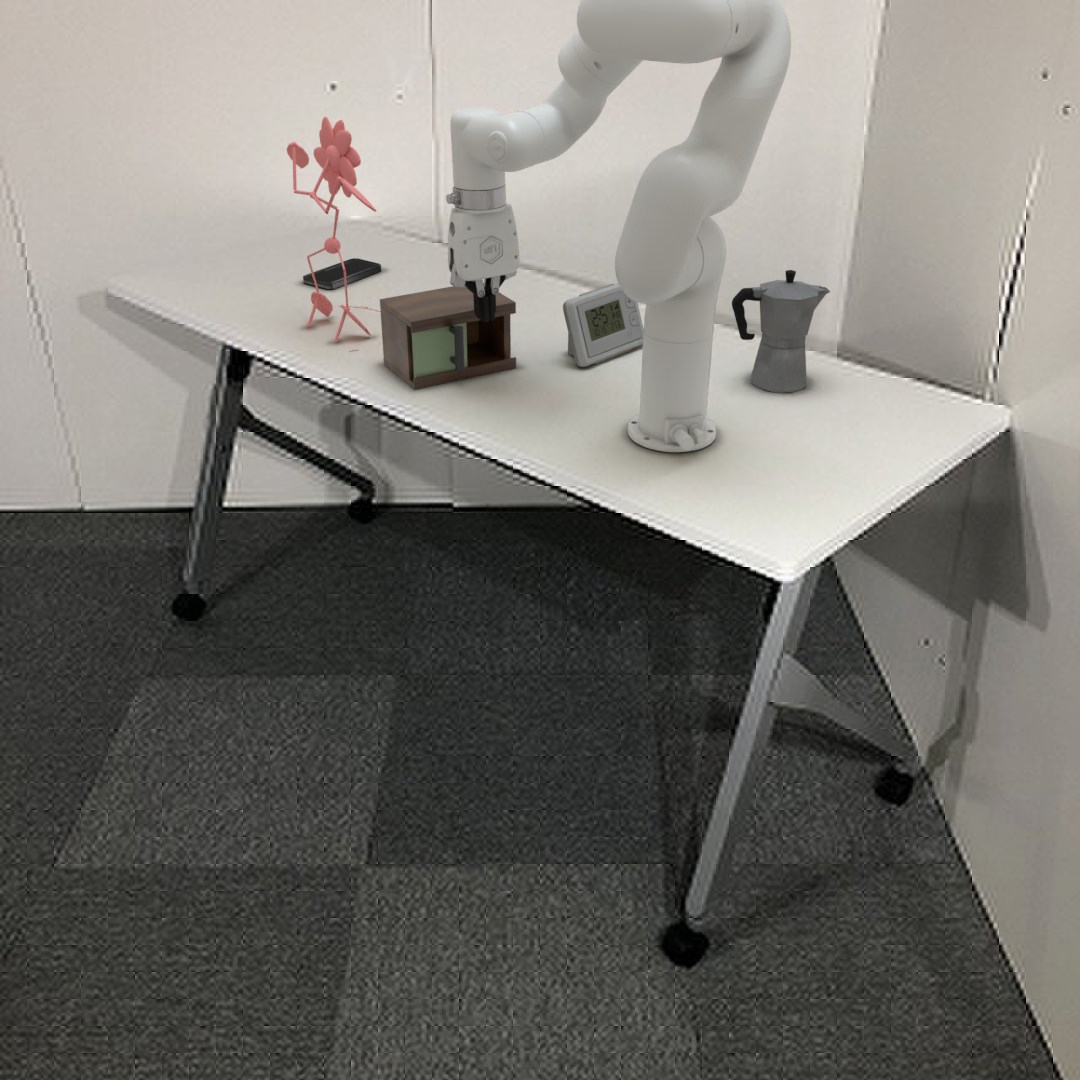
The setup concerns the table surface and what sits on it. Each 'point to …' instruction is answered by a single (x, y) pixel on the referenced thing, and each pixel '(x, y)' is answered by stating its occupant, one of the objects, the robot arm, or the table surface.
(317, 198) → the figurine
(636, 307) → the digital clock
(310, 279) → the phone
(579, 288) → the table surface
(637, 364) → the table surface
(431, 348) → the sliding door
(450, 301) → the cabinet
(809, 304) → the coffeepot
